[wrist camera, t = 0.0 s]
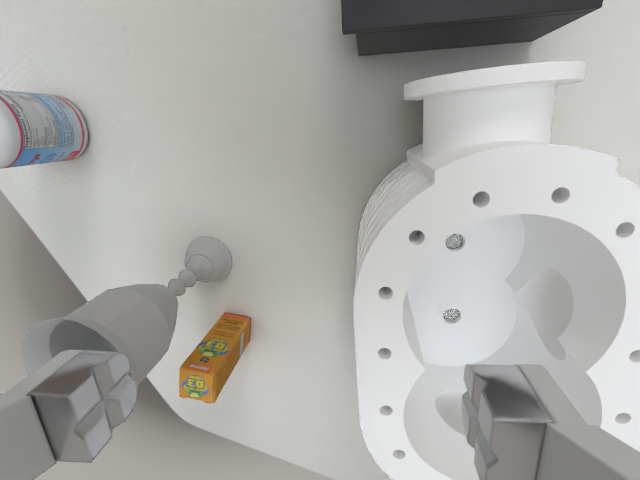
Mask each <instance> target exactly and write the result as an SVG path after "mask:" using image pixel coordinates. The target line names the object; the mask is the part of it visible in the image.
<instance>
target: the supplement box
mask: <svg viewBox="0 0 640 480" xmlns="http://www.w3.org/2000/svg"><path fill="white" fill-rule="evenodd" d="M249 340H250V317H245V316H239V315H233V314H227V313H224V314H223V315H222V317H221V318H220V319H219V320H218V322H217V323H216V324H215V325H214V326H213V328H212V329H211V330H210V331H209V332H208V334H207V335H206V336H205V337H204V339H203V340H202V341H201V342H200V344H199V345H198V346H197V347H196V348H195V350H194V351H193V352H192V353H191V355H190V356H189V357H188V358H187V359H186V361H185V362H184V363H183V364H182V366H181V367H180V381H179V383H180V384H179V385H180V386H179V387H180V390H179V392H180V397H182V398H187V397H188V398H193V399H197V400H202V401H205V402H206V403H215V401H216V399H217V397H218V395H219V393H220V392H221V390H222V388H223V386H224V385H225V383H226V381H227V379H228V378H229V376H230V374H231V372H232V371H233V369H234V367H235V365H236V364H237V362H238V360H239V358H240V357H241V355H242V353H243V351H244V350H245V348H246V346H247V345H248V343H249Z"/></svg>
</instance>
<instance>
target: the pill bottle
mask: <svg viewBox="0 0 640 480" xmlns="http://www.w3.org/2000/svg"><path fill="white" fill-rule="evenodd" d="M87 142H88V132H87V127H86V124H85V121H84V119H83V116H82V115H81V113H80V111H79V110H78V109H77V108H76V107H75V106H74V105H73V104H72V103H71V102H69V101H68V100H66V99H64V98H62V97H59V96H55V95H46V94H35V93H25V92H13V91H2V90H0V168H9V167H17V166H25V165H34V164H42V163H50V162H58V161H66V160H71V159H74V158H76V157H78V156H79V155H81V154H82V153H83V151H84V150H85V148H86V146H87Z"/></svg>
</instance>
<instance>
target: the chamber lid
mask: <svg viewBox="0 0 640 480" xmlns="http://www.w3.org/2000/svg"><path fill="white" fill-rule="evenodd" d="M602 2H603V0H341V3H342V31H343V34H344V35H346V34H357V33H367V32H378V31H389V30H399V29H410V28H421V27H431V26H442V25H453V24H463V23H474V22H485V21H495V20H506V19H517V18H528V17H538V16H549V15H560V14H570V13H581V12H592V11H595V10H597V9H599V8H601V7H602Z"/></svg>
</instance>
